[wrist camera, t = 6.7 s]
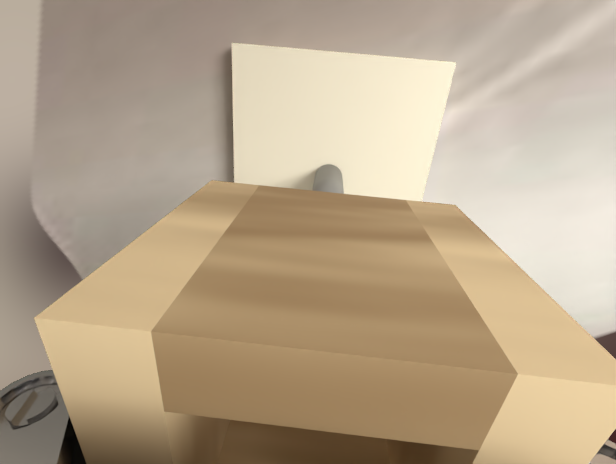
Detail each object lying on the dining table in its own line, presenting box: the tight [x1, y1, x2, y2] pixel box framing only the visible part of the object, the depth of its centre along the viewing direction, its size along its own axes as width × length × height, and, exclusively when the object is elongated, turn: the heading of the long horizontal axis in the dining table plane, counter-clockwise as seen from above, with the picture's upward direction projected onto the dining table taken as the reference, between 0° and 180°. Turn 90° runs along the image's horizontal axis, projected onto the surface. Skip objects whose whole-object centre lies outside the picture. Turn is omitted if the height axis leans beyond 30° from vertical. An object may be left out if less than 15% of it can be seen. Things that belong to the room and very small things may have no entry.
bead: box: [34, 180, 616, 464], centre depth 8 cm, size 7×7×6 cm
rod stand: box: [232, 43, 456, 202], centre depth 20 cm, size 16×14×10 cm
